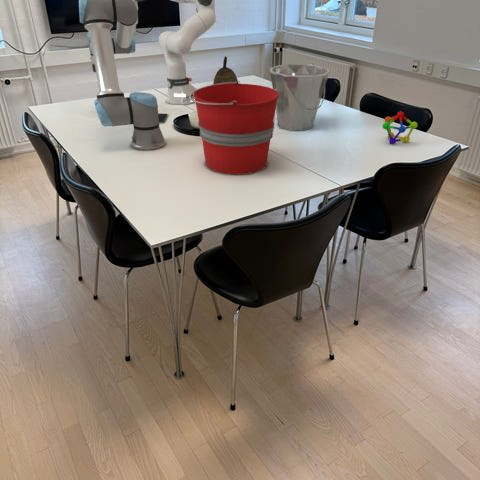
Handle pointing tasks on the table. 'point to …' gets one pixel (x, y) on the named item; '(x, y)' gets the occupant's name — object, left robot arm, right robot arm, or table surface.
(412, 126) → the educational toy
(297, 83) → the bucket
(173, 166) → the table surface
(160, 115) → the smartphone
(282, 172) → the table surface
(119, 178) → the table surface
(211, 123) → the bucket
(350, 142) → the table surface
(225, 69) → the bell
